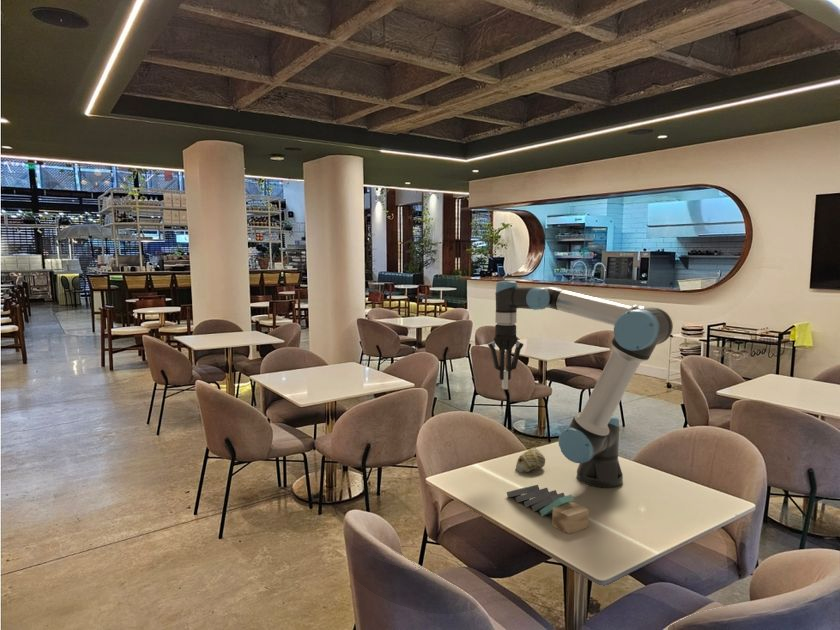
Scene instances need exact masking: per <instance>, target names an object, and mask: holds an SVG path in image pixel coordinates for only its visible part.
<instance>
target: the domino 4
mask: <svg viewBox="0 0 840 630" xmlns="http://www.w3.org/2000/svg"><path fill="white" fill-rule="evenodd" d="M564 496H566V495H565V493H564V492H561V493H557V495H553V496H550V497H548V498H547V499H545V500H543V501H541V502H539V503H537V504H535V505H532V506H530V507H531V509H532V511H533V512H537V511H540V510H542V509H543V508H545V507H546V506H548V505H549V504H551V503H552V502H554V501H555V500H557V499H558V498H561V497H564Z"/></svg>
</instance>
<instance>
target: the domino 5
mask: <svg viewBox="0 0 840 630" xmlns="http://www.w3.org/2000/svg"><path fill="white" fill-rule="evenodd" d="M574 500H575V499H574V497H573V495H572V494H568V495H565V496H564V497H561V498H558V499H557V500H555V501H554V502H552V503H551V504H549V505H548V506H546V507H545V508H543V509H540V510H539V513H540V515H541V516H542V517H543V516H547V515H549V514H553V508H555V507H558V506H561V505H564V504H567V503H570V502H574Z"/></svg>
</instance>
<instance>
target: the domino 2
mask: <svg viewBox="0 0 840 630" xmlns="http://www.w3.org/2000/svg"><path fill="white" fill-rule="evenodd" d="M547 492H550V491H549V488H548V487H544V488H541V489H540V488H539V490H537V491H533V492H530V493H527V494H522V495H517V496H514V497H515V500H516V503H521V502H525V501H527V500H530V499H532V498H534V497H537V496H539V495H541V494H544V493H547Z"/></svg>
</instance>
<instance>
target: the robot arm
mask: <svg viewBox="0 0 840 630" xmlns="http://www.w3.org/2000/svg"><path fill="white" fill-rule="evenodd" d="M494 293H495V320H494V321H495V325H494V329H495V330H494V331H495V332H494V333H495V334H494V337H493V341H491V342H488V343H487V346H488V348H489V349H490V354H491V359H492V363H493V368H494V369H496V370H497V371H499V373H498V374H499V377H498V378H499V380H500V381H501V388H502V389H503V390H508V389H509V380H511V379H512V375H511V373H512V371H513V370H516V368H517V365H518V361H519V357H520V353H521V350H522V348H523V347H524V343H522V342H520V341H519V340H518V337H517V324H516V323H517V309H523V310H524V309H527V310H533V311H536V310H537V311H539V310H545V309H547V308H548V309H553V310H556V311H560V312H564V313H567V314H571V315H573V316H574V315H575V316H579V317H581V318H585V319H589V320H593V321H596V322H600V323H604V324H606V325H611V326H613V338H612V340H611V346H612V349H613V350H612V351H611V354H610V355H609V358H608V360H607V361H606V363H605V365H604V368H603V370H602V372H601V373H600V375H599V377H598V380H597V381H596V383H595V385H594V387H593V388H592V389H593V390H592V391H591V392H590V394H589V397H588V399H587V401H586V403H585V405H584V407H583V409H582V410H581V411H580V412H576V413H575V414H574V416H573V418H572V421H571V422H570V424H569V426H568V427H566V428H564V429H563V430H562V431H561V432H560V434H559V436H558V446H559V448H560V451H561V453H562V454H563V456H564V457H565V458H566V459H567V460H569V461H570V462H571V463H574V464H578V467H577V469H576V479H578V481H579V482H581V483H583V484H586V485H589V486H592V487H598V488H616V487H619V486H621V485H622V484H623V479H624V478H623V477H624V475H623V472H622V469H621V464H620V462H619V444H620V443H619V442H620V428H621V427H620V419H619V417H617V416H615V415H614V413H615V412H616V409H617V408H618V406H619V404H620V402H621V400H622V398H623V397H624V395H625V392H626V391H627V389H628V387H629V385H630V383H631V381H632V380H633V378H634V375H635V374H636V372H637V370H638V369H639V366H640V364H641V363H642V362H647V361H649V359H650V357H651V355H652V353H653V352H654V350H655V348H656V346H657V345H658V346H659V345H660V344H662V343H664V342H666V341H667V340H668V339H669V338H670V337H671V334H672V333H673V326H674V324H673V321H672V318H671V317H670V315H669V314H668V312H666V311H665V310H664V309H661V308H658V307H652V306H651V307H650V306H644V305H640V304H634V305H632V306H631V305H628V304H627V305H626V304H623V303H619V302H614V301H612V300H611V301H610V300H606V299H602V298H599V297H594V296H590V295H585V294H582V293H578V292H573V291H570V290H566V289H562V288H561V287H559V286H554V285H551V286H537V287H536V286H534V287H533V286H532V287H531V286H527V287H526V286H525V287H524V286H521V287H520V286H518V282H516V281H512V280H511V281H506V280H502V281H497V282H496V284H495V292H494ZM496 346H497V348H498V352H499V355H497V352H496V348H495V347H496ZM514 346H515V349H514ZM513 349H514V353H513V357H512V352H513ZM505 352H506V353H505ZM505 355H506V357H505ZM497 356H498V357H499V358H498V357H497ZM505 360H506V362H505Z"/></svg>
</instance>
